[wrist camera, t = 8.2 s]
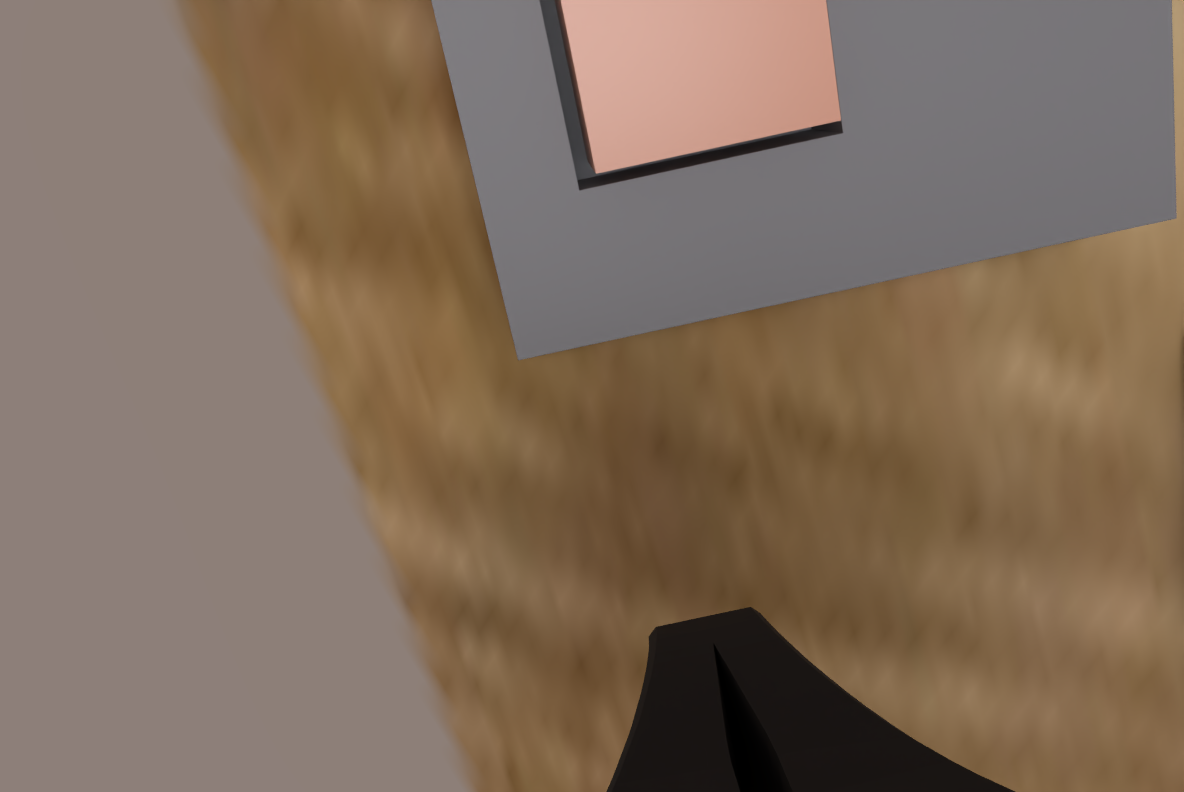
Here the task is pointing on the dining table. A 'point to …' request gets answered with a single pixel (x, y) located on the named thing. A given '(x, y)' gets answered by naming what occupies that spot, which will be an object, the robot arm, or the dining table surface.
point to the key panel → (817, 162)
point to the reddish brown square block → (694, 74)
